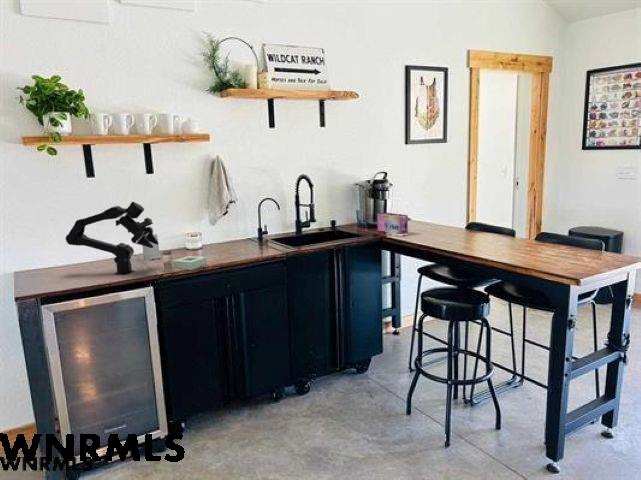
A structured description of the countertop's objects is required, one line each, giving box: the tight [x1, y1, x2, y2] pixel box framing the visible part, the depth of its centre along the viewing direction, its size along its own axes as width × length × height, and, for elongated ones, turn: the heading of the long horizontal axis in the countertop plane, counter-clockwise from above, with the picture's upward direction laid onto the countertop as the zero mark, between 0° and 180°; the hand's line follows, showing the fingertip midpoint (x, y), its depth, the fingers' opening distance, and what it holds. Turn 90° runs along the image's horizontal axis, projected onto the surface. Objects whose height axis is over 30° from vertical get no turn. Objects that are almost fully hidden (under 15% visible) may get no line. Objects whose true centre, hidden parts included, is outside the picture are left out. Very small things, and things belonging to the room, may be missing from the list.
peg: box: [161, 250, 174, 273], centre depth 249 cm, size 4×4×10 cm
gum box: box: [376, 212, 409, 234], centre depth 329 cm, size 24×8×14 cm, turn 33°
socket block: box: [172, 255, 208, 271], centre depth 257 cm, size 12×12×4 cm
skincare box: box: [141, 232, 161, 261], centre depth 279 cm, size 8×6×15 cm
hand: (155, 245), depth 247 cm, fingers open, 9 cm apart
